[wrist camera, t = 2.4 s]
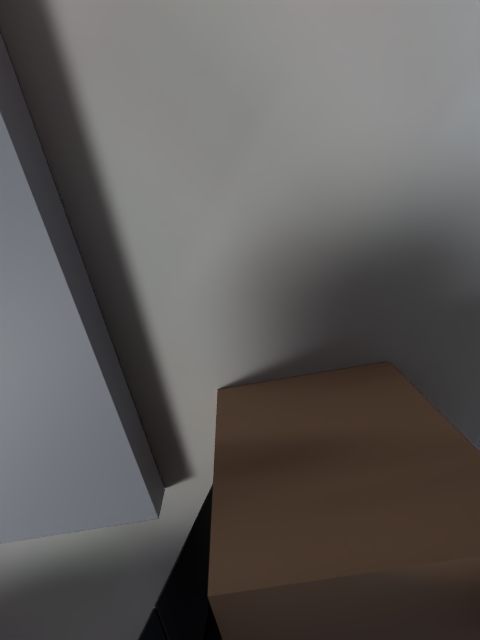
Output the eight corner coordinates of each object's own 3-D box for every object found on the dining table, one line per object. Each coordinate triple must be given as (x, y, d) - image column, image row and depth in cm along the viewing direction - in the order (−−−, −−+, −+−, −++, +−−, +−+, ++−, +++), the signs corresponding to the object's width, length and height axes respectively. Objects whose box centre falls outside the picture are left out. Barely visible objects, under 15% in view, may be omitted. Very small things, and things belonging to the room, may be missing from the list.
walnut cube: (386, 486, 11) (511, 708, 6) (245, 508, 11) (258, 742, 6) (388, 361, 9) (570, 542, 4) (217, 389, 9) (207, 597, 4)
